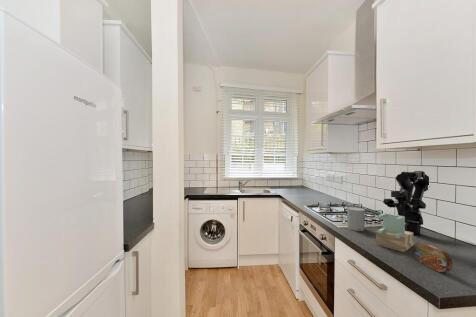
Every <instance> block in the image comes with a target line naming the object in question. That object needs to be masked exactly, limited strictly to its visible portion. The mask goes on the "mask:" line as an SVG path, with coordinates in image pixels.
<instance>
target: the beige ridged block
mask: <svg viewBox="0 0 476 317" xmlns="http://www.w3.org/2000/svg"><path fill="white" fill-rule="evenodd" d="M375 245H377V246H380V247H383V248H388V249H391V250H395V251H399V252H402V253H405V252H406V251H408V250H409V249H410V248H412V247H414V233H413V232H409V231H405V235H404V236H402V237H400V238H396V234H395V233H391V232H384V233H382V234H380V233H378V230H376V231H375Z"/></svg>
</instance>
